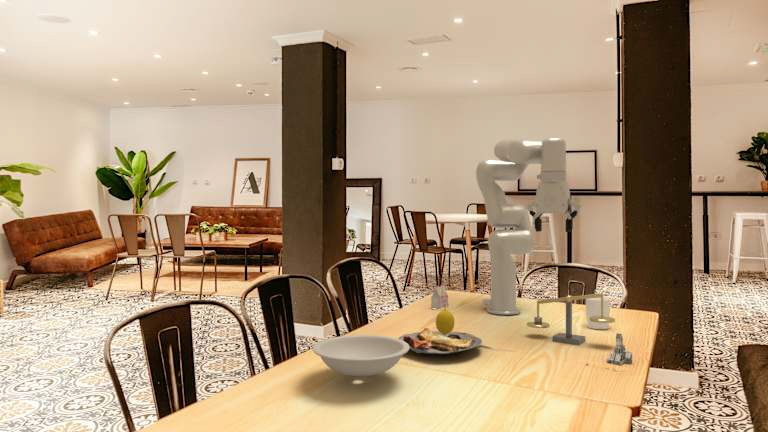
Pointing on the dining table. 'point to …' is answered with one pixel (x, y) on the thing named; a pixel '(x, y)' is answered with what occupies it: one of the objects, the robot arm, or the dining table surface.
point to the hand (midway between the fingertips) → (553, 231)
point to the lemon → (445, 322)
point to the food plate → (440, 342)
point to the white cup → (597, 311)
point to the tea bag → (439, 298)
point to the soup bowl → (361, 353)
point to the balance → (569, 319)
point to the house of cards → (619, 353)
